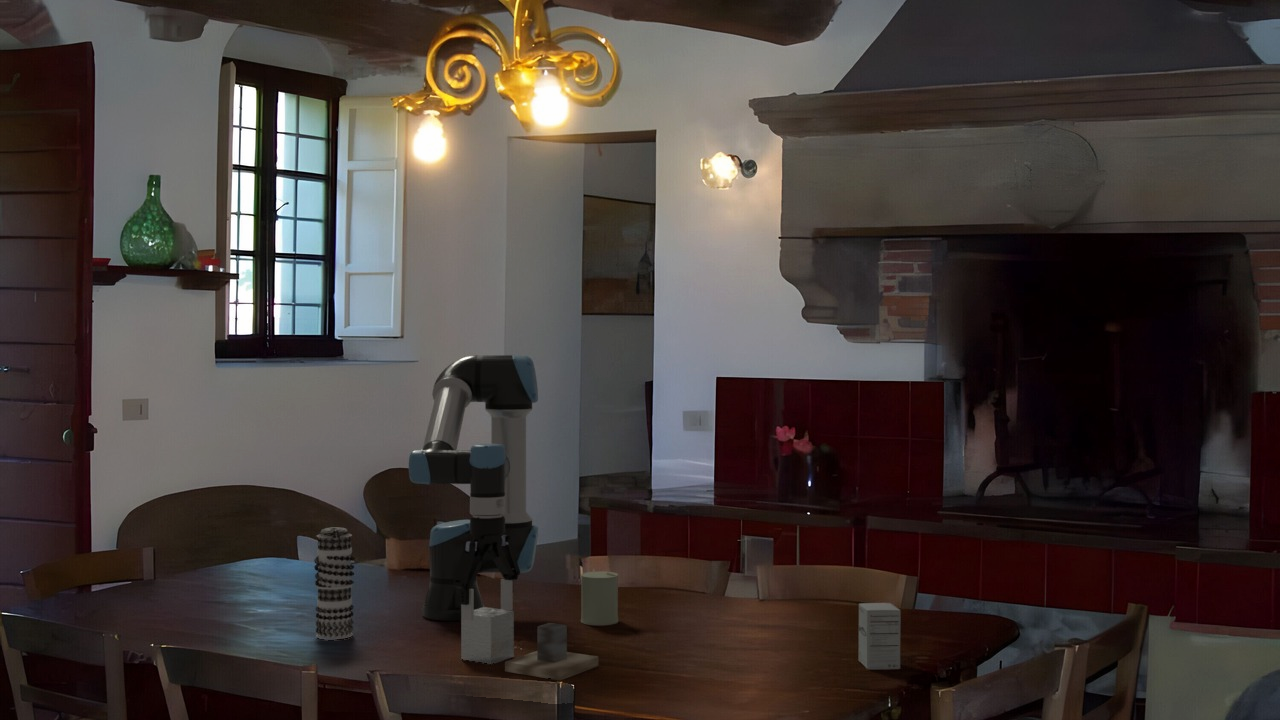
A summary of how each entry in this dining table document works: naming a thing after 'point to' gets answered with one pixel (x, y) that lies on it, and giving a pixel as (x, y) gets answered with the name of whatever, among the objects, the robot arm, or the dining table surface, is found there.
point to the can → (599, 598)
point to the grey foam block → (488, 636)
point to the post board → (550, 667)
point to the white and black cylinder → (334, 584)
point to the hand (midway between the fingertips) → (487, 614)
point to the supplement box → (879, 636)
